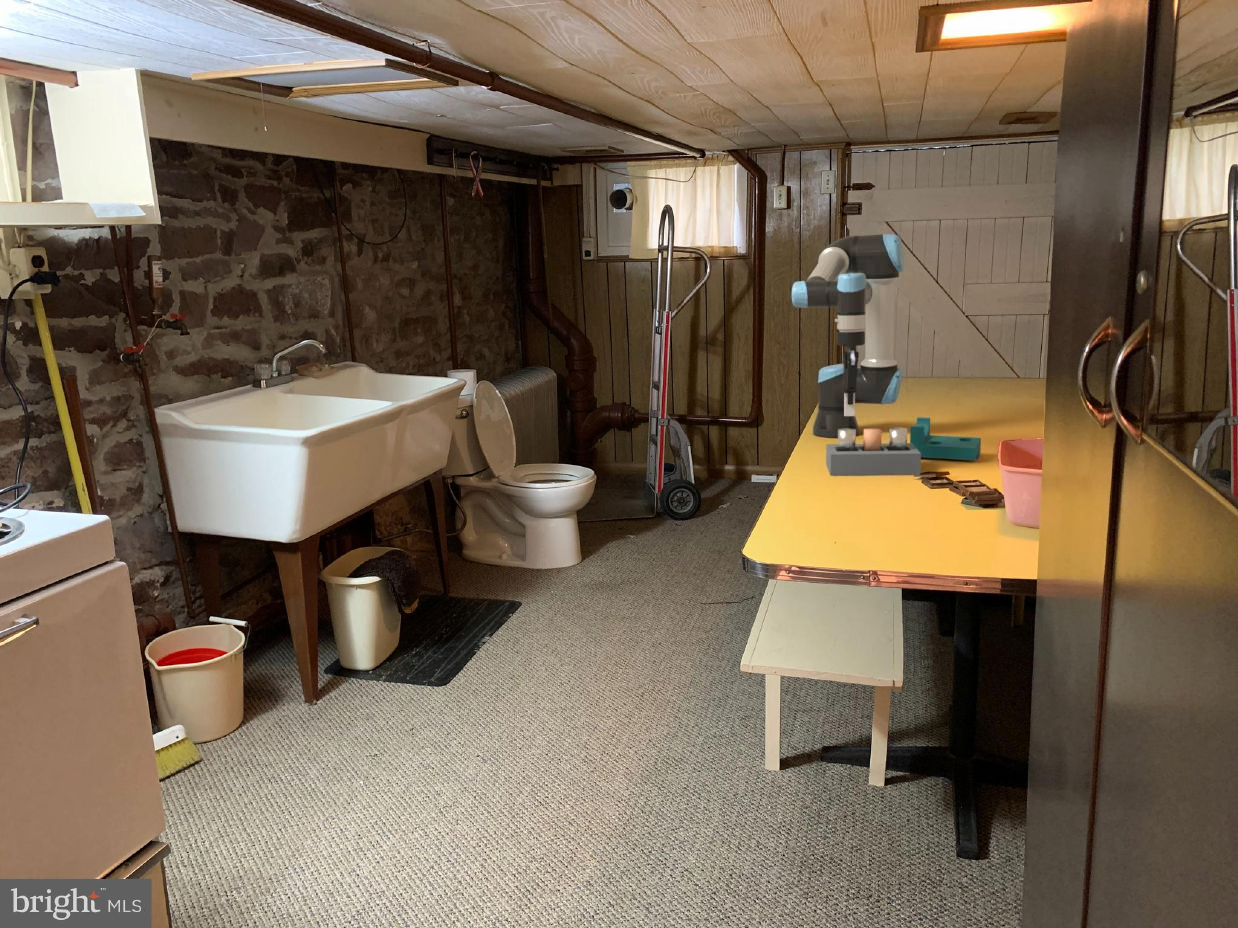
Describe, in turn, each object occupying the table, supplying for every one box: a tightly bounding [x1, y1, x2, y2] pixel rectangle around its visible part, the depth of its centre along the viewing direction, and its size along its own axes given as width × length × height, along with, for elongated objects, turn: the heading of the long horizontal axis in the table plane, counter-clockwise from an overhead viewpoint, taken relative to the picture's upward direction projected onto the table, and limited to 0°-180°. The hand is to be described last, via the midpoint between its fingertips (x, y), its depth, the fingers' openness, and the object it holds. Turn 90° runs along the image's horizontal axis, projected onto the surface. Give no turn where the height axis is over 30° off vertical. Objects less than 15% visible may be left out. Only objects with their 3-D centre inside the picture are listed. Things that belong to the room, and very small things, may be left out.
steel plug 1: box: [837, 428, 857, 451], centre depth 265 cm, size 5×5×6 cm
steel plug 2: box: [888, 426, 908, 451], centre depth 263 cm, size 5×5×6 cm
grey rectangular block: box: [825, 442, 922, 477], centre depth 265 cm, size 14×24×6 cm, turn 83°
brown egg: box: [862, 427, 882, 451], centre depth 264 cm, size 5×5×6 cm
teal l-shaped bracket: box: [909, 416, 982, 461], centre depth 275 cm, size 18×11×10 cm, turn 62°
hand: (849, 415), depth 263 cm, fingers closed
